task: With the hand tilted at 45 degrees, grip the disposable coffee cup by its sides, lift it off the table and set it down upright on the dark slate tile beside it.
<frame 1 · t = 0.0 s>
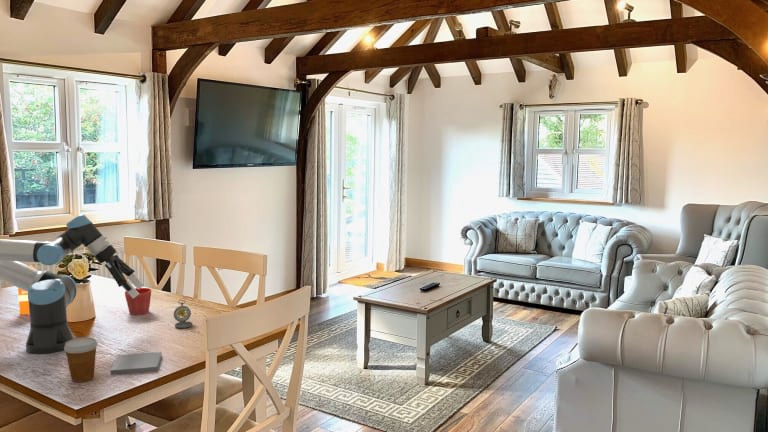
hand: (138, 291, 237), 15 cm above the table, tool tilted 35°, fingers open, 13 cm apart
slate tile: (137, 365, 202), on the table
pocket watch: (183, 325, 245), on the table
flower pot: (139, 313, 262), on the table
orange juice: (32, 311, 262), on the table
disposable coffee cup: (82, 379, 191), on the table
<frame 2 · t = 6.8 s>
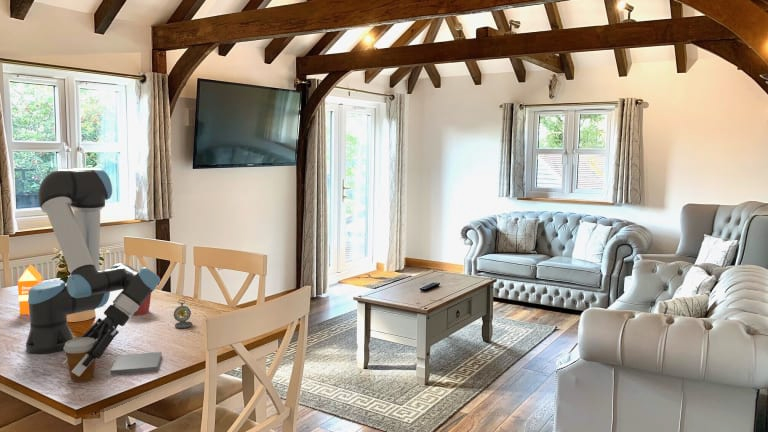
hand: (70, 369, 188), 4 cm above the table, tool tilted 45°, fingers closed on disposable coffee cup, 8 cm apart
disposable coffee cup: (82, 378, 191), on the table, touching gripper
everything else where it was.
when the fingers open (7 cm above the table, at t = 12.6 s): disposable coffee cup moves 4 cm, resting on slate tile.
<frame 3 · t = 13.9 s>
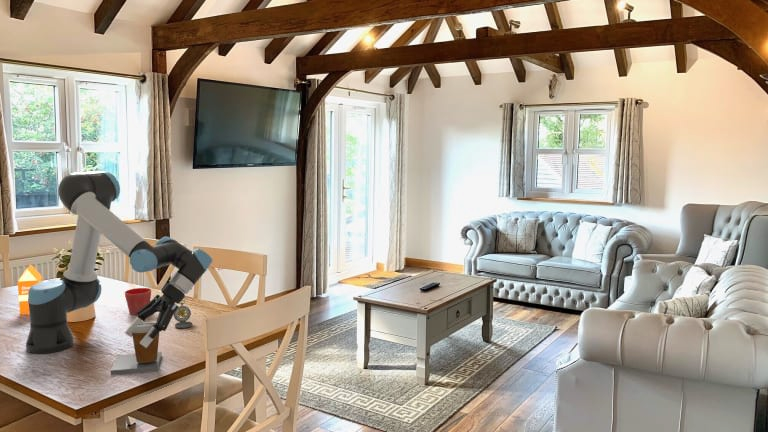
hand: (134, 340, 201), 9 cm above the table, tool tilted 45°, fingers open, 13 cm apart
disposable coffee cup: (146, 361, 200), point 2 cm above the table, touching slate tile
everything else where it was.
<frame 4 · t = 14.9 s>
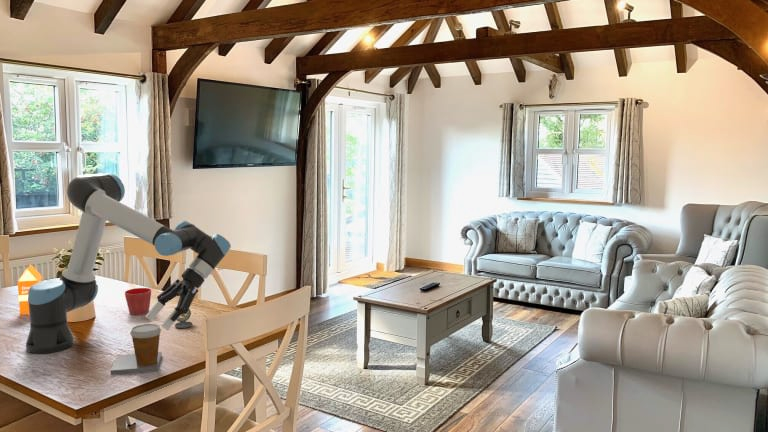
hand: (156, 323, 205), 13 cm above the table, tool tilted 45°, fingers open, 13 cm apart
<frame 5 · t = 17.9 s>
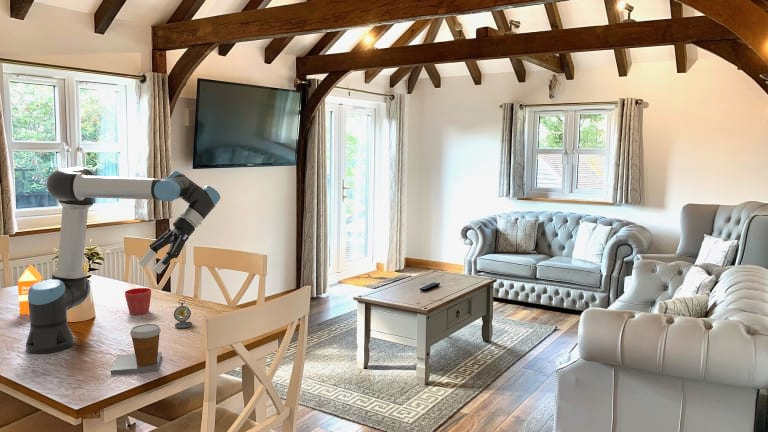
hand: (148, 268, 213), 30 cm above the table, tool tilted 45°, fingers open, 13 cm apart
at the end: disposable coffee cup inside the target area on the slate tile (4.4 cm from its centre), point 1.3 cm above the slate tile's base; disposable coffee cup tilted 0°; the gripper is holding nothing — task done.
